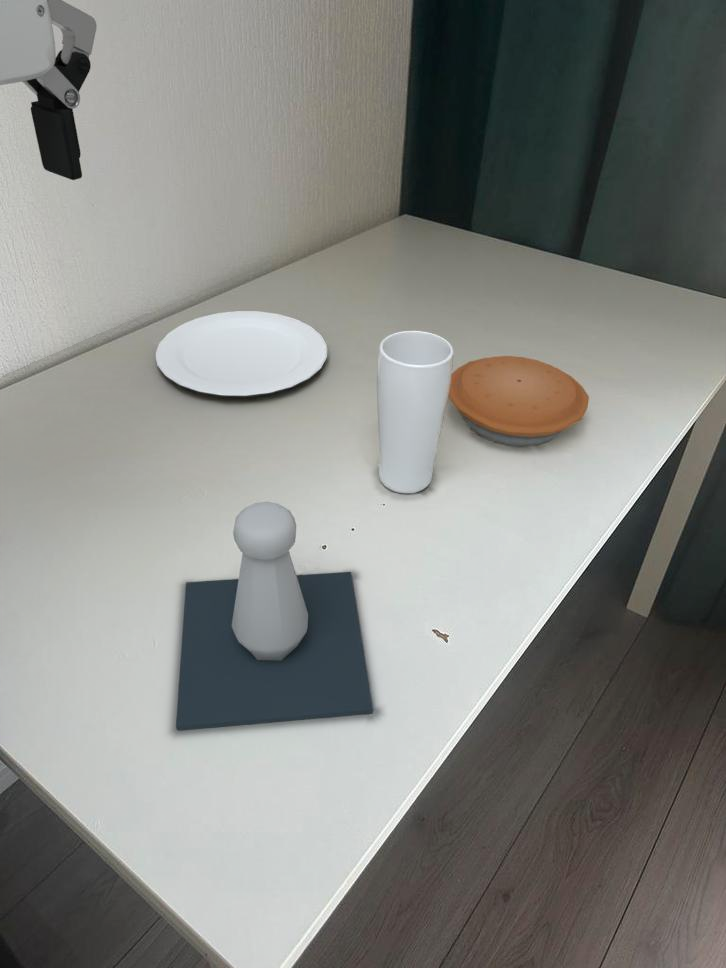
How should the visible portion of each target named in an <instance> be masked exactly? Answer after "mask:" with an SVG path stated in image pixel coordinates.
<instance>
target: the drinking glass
mask: <svg viewBox="0 0 726 968" xmlns="http://www.w3.org/2000/svg"><path fill="white" fill-rule="evenodd" d="M378 348H379V349H378V358H377V365H376V366H377V368H376V403H377V404H376V409H377V427H378V451H379V453H378V454H379V455H378V456H379V463H378V477H379V480H380V482H381V483H382V485H383V486H384V487H386V488H387V489H389V490H391V491H393V492H395V493H399V494H415V493H418V492H421V491H423V490H424V489H426V488H427V487H428V486H429V485H430V483H431V481H432V478H433V471H434V464H435V459H436V454H437V449H438V446H439V441H440V436H441V433H442V432H441V431H442V427H443V422H444V419H445V414H446V409H447V405H448V401H449V391H450V384H451V377H452V373H453V367H454V366H453V364H454V348H453V345H452V344H451V343H450V341H448V340H447V339H445V338H443V337H442V336H440V335H438V334H435V333H432V332H429V331H422V330H403V331H397V332H394V333H391V334H389V335H387V336H386V337H384V338H383V339H382V340H381V341H380V343H379V347H378Z"/></svg>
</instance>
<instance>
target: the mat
mask: <svg viewBox="0 0 726 968" xmlns="http://www.w3.org/2000/svg"><path fill="white" fill-rule="evenodd" d="M296 576H297V579H298V582H299V586H300V589H301V592H302V596H303V599H304V602H305V606H306V609H307V612H308V627H307V632H306V634H305V635H304V637H303V638H302V640H301V641H300V643H299V644H298V646H297V647H296V648H295V649H294V650H293V651H291V652H290V653H289V654H288V655H287V656H286V657H285V658H284V659H282V660H281V661H280V660H257V659H256V658H255V656H254V655H253V654H252V653H251V652H250V651H249V650H248V649H246V648H245V647H244V646H243V645H242V644H240V643H239V642H238V640H237V637H236V635H235V633H234V631H233V628H232V620H233V613H234V607H235V600H236V593H237V586H238V580H239V578H237V579H236V578H233V579H218V580H217V579H215V580H202V581H188V582H187V581H186V582H185V593H184V605H183V607H184V608H183V620H182V621H183V623H182V635H181V648H180V665H179V666H180V667H179V675H178V676H179V677H178V678H179V679H178V692H177V705H176V724H175V728H176V731H187V730H188V731H189V730H197V729H198V730H200V729H209V728H222V727H231V726H233V727H234V726H243V725H245V726H246V725H256V724H268V723H277V722H279V723H280V722H290V721H291V722H292V721H301V720H302V721H303V720H314V719H322V718H325V719H326V718H333V717H334V718H335V717H346V716H347V717H348V716H356V715H357V716H358V715H370V714H373V712H374V711H373V710H374V709H373V702H372V696H371V695H372V694H371V689H370V683H369V676H368V671H367V664H366V658H365V652H364V646H363V639H362V633H361V627H360V620H359V615H358V614H359V613H358V608H357V601H356V596H355V588H354V584H353V577H352V572H351V571H342V572H327V573H312V574H310V573H309V574H296Z"/></svg>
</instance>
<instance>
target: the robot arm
mask: <svg viewBox="0 0 726 968" xmlns="http://www.w3.org/2000/svg"><path fill="white" fill-rule="evenodd" d="M53 26H56V27H57V28H59V30H60V31H61V33H62V41H61V44H62V48H61V49H60V50H59V51H58V53H57V55H56V52H57V51H56V42H55V35H54V28H53ZM96 33H97V21H96V20H95V18H94V17H93V16H92V15H90V14H88V13H86V12H84V11H83V10H81V9H79V8H77V7H75V6H74V5H72V4H70V3H68V2H66V1H64V0H0V86H4V85H10V84H15V83H21V82H22V83H23V84H24V85H25V86H26V87H27V88H28V89H29V90H30V91H31V92H32V93H33V94H34V95H35V96H36V99H37V100H36V101H31V102H30V105H31V107H30V113H31V119H32V123H33V127H34V132H35V137H36V141H37V146H38V150H39V155H40V159H41V164H42V167H43V169H44V171H46V172H49V173H52V174H55V175H57V176H60V177H63V178H66V179H69V180H71V181H76V180H80V179H82V177H83V171H82V166H81V161H80V158H81V147H80V143H79V136H78V131H77V126H76V120H75V113H74V109H76V108H77V107H78V106H79V105H80V103H81V94H80V91H81V88H82V87H83V85H84V83H85V81H86V79H87V77H88V74H89V73H90V71H91V60H90V55H92V52H93V47H94V43H95V42H94V41H95V39H96V38H95V37H96Z"/></svg>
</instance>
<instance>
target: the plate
mask: <svg viewBox="0 0 726 968" xmlns="http://www.w3.org/2000/svg"><path fill="white" fill-rule="evenodd" d="M327 359H328V345H327V343H326V341H325V340H324V337H323V336H322V334H320V333H319V332H318V331H317V330H316V329H315V328H313V326H311V325H309V324H307V323H305V322H303V321H301V320H299V319H296V318H293V317H290V316H287V315H283V314H280V313H274V312H267V311H260V310H259V311H258V310H253V311H252V310H236V311H235V310H234V311H224V312H217V313H213V314H209V315H204V316H199V317H197V318H194V319H192V320H189V321H186V322H184V323H181V324H180V325H179V326H177V327H176V328H174V329H172V330H171V331H169V332H168V333H167V334H166V335H165V336H164V337H163V338H162V339H161V340H160V342H158V345H157V348H156V351H155V360H156V365H157V368H158V369H159V371H160V372H161V373H162V375H164V377H165V378H167V379H168V380H169V381H171V382H173V383H174V384H176V385H177V386H179V387H181V388H184V389H187V390H189V391H193V392H195V393H198V394H202V395H208V396H209V395H210V396H213V397H214V396H215V397H220V398H251V397H260V396H268V395H273V394H276V393H279V392H283V391H287V390H290V389H293V388H295V387H297V386H299V385H301V384H303V383H305V382H308V381H309V380H310V379H311V378H312V377H314V376H315V375H316V374H317V373H318V372H320V371H321V370H322V368H323V367H324V364H325V363H326V361H327Z"/></svg>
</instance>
